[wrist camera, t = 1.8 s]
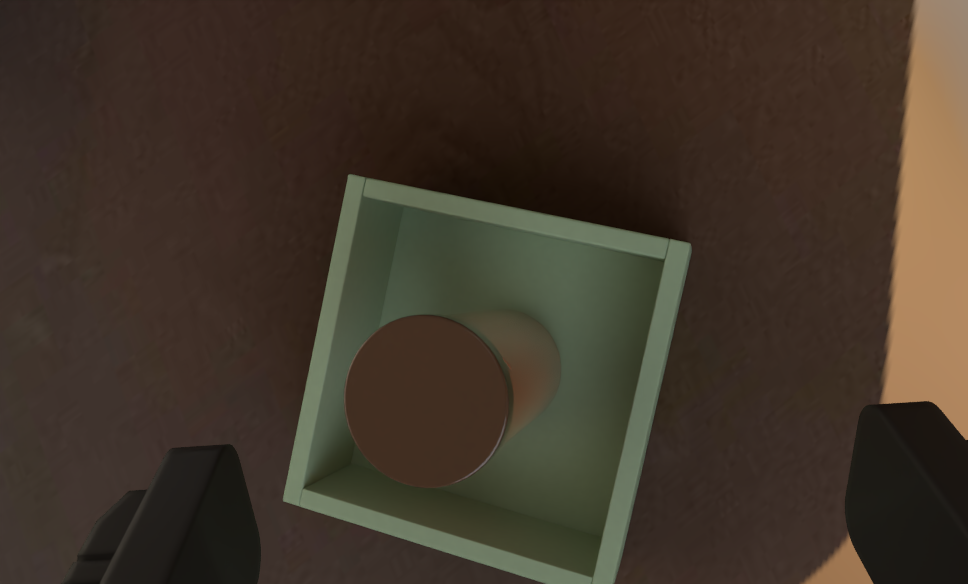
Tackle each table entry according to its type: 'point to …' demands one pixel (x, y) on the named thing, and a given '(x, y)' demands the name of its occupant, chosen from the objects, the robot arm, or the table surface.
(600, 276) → the crate
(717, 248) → the table surface
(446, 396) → the spice jar
